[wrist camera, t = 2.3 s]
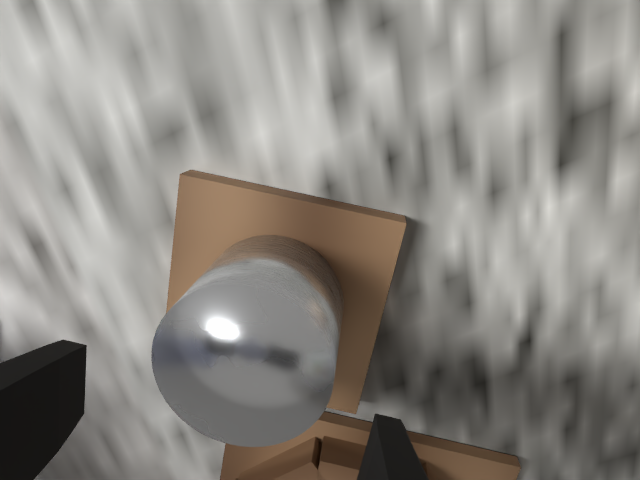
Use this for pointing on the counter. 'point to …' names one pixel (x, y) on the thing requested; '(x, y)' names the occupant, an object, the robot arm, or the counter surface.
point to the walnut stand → (307, 227)
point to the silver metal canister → (253, 343)
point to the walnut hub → (358, 456)
